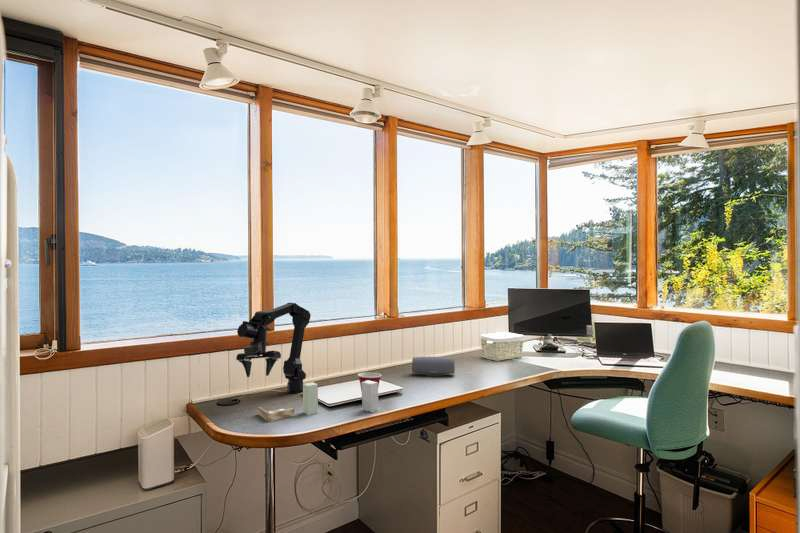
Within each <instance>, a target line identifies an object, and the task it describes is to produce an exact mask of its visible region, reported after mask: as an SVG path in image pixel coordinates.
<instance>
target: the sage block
mask: <svg viewBox="0 0 800 533" xmlns="http://www.w3.org/2000/svg"><path fill="white" fill-rule="evenodd" d="M318 388H319V387H318V383H316V382H314V381H311V382H305V383H303V392H302V413H303V414H305V415H307V416H311V414H312V415H316V414H318V413H319V402H318V401H319V397H318V396H319V389H318ZM315 413H316V414H315Z"/></svg>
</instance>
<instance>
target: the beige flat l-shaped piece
mask: <svg viewBox="0 0 800 533" xmlns="http://www.w3.org/2000/svg"><path fill="white" fill-rule="evenodd" d="M257 415H258V416H259V417H261V418H263V419H264V420H265V421H267V422H273V421H278V420H282V419H287V418H291V417H295V408H294V407H292V408H287V409H285V408H280V409H275V410H270V411H268V410H266V409H264V407H263V408H262V406H258V407H257Z"/></svg>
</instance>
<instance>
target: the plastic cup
mask: <svg viewBox="0 0 800 533" xmlns="http://www.w3.org/2000/svg"><path fill="white" fill-rule="evenodd" d="M357 376H358V379H359V383H360V384H359V385H360V390H361V393H362V385H361V382H363V381H367V380H369V381H374V382H378V387H379V384H380V380H381V377H382V374H381V373H378V372H361V373H358V374H357Z"/></svg>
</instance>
